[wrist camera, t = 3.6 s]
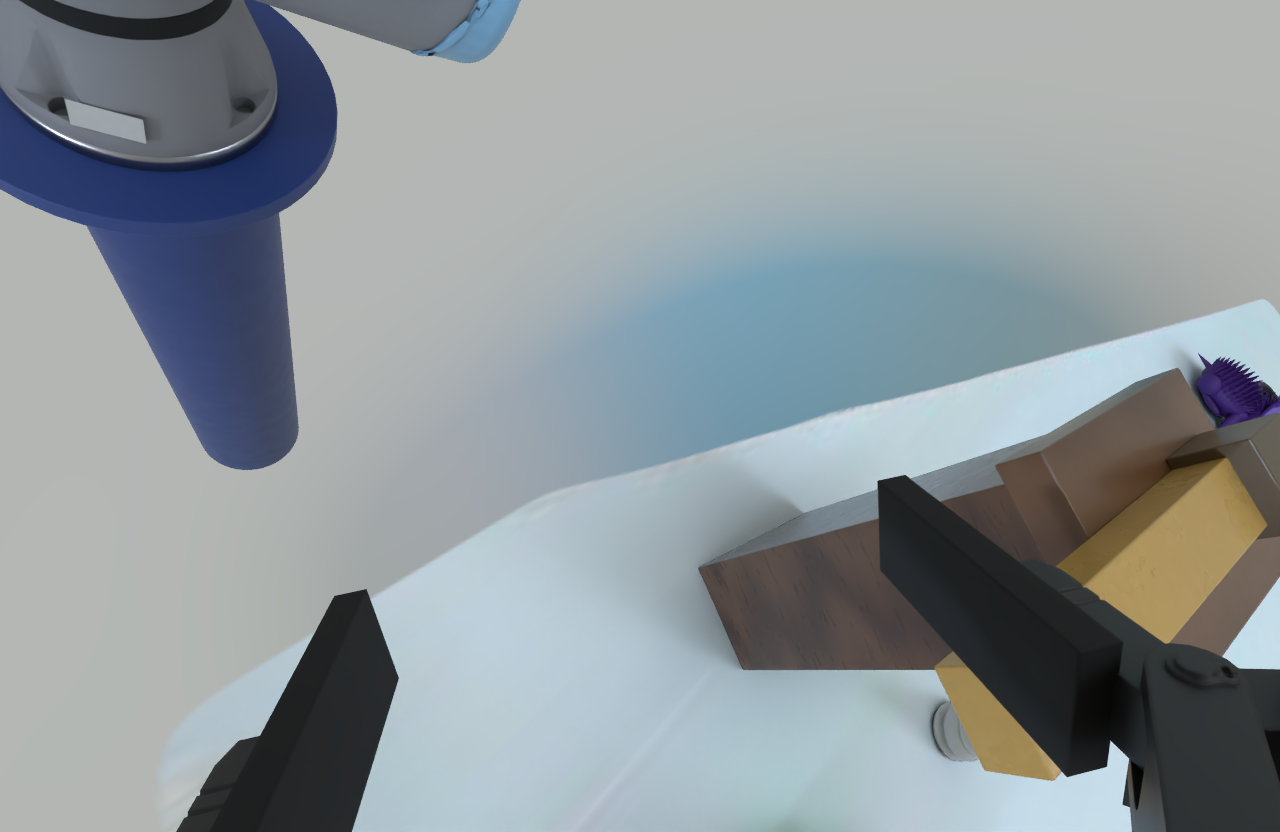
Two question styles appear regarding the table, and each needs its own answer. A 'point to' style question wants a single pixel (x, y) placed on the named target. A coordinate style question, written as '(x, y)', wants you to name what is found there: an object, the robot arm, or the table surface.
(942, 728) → the rook chess piece
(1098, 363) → the table surface
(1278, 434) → the bar
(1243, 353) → the table surface
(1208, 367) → the creature
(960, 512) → the post
